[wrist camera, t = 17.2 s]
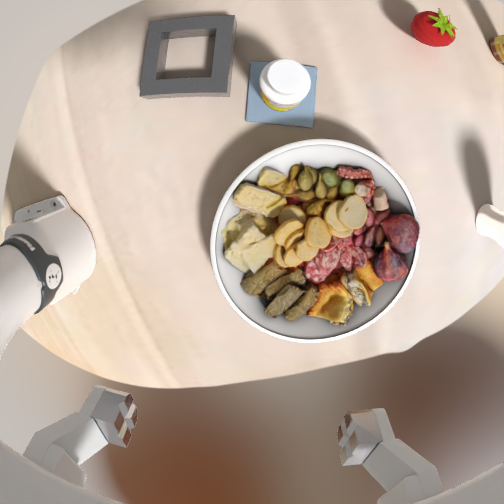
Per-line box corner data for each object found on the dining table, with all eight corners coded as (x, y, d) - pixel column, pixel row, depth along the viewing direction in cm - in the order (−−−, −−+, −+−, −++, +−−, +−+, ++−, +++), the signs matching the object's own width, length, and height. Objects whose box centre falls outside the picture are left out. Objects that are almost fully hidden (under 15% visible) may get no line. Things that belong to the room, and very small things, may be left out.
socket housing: (147, 99, 34) (139, 96, 31) (156, 28, 30) (149, 22, 27) (229, 96, 34) (227, 92, 31) (236, 23, 30) (234, 15, 27)
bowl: (252, 342, 49) (250, 373, 41) (186, 177, 39) (169, 185, 31) (412, 295, 44) (431, 319, 37) (384, 120, 34) (409, 116, 27)
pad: (246, 121, 35) (246, 121, 35) (251, 61, 32) (251, 60, 32) (312, 128, 35) (313, 127, 35) (316, 68, 32) (317, 67, 31)
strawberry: (392, 22, 27) (421, -1, 18) (428, 23, 26) (459, 5, 17) (406, 54, 29) (439, 37, 20) (441, 54, 28) (476, 41, 19)
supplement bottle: (266, 70, 32) (267, 45, 22) (306, 81, 32) (320, 60, 23) (255, 106, 34) (252, 92, 24) (295, 117, 34) (307, 107, 25)
